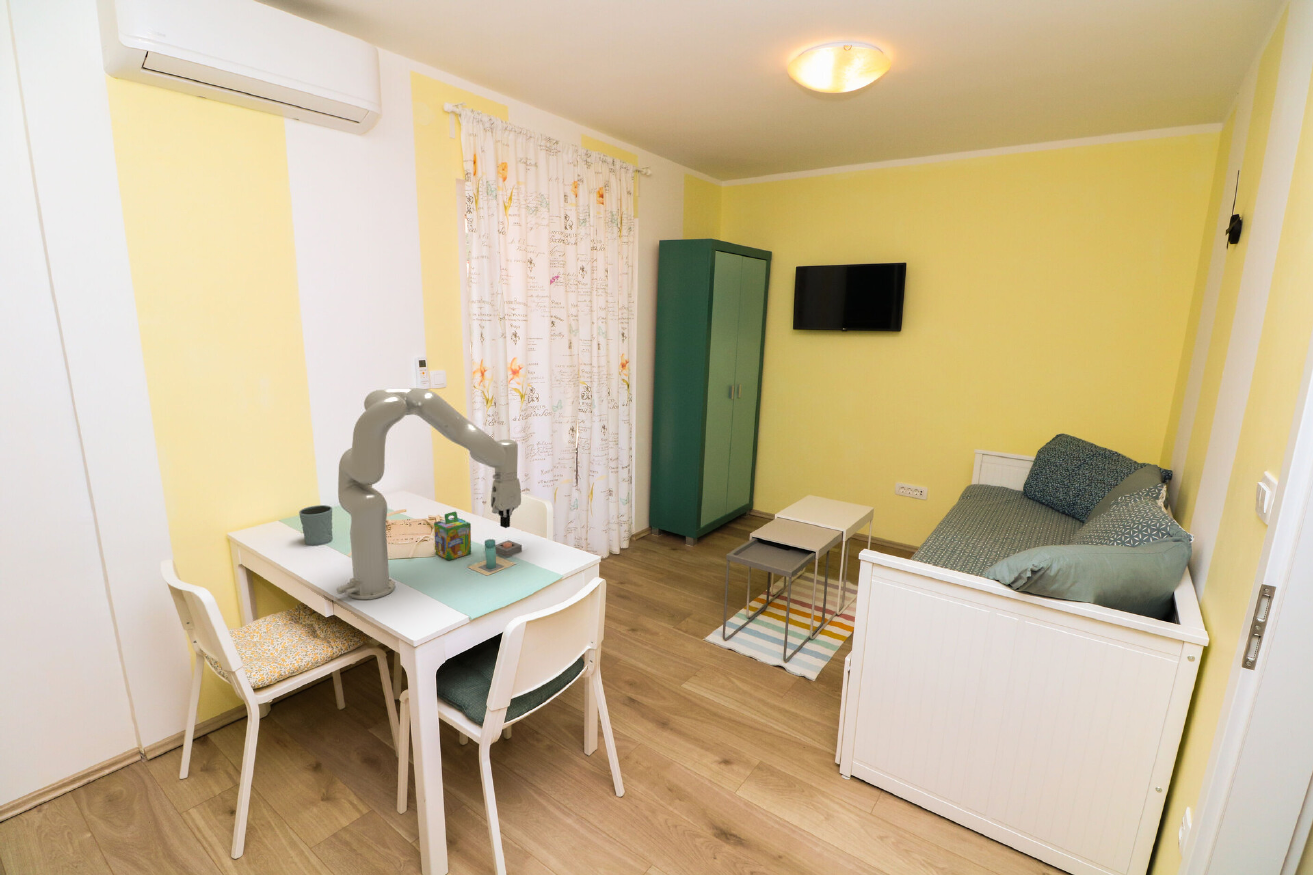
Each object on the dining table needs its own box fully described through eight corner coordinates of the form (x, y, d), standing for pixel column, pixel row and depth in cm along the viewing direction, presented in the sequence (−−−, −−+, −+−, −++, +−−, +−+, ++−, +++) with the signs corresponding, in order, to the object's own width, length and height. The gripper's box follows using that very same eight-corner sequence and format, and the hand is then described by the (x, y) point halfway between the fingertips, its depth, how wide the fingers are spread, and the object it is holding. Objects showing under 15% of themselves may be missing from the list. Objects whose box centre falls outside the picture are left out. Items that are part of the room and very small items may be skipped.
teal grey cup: (340, 537, 215) (338, 506, 212) (322, 547, 205) (319, 515, 202) (314, 535, 216) (311, 504, 213) (295, 545, 206) (292, 513, 203)
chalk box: (448, 561, 198) (446, 519, 195) (434, 553, 204) (432, 513, 201) (472, 553, 205) (471, 513, 202) (458, 546, 211) (456, 507, 208)
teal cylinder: (490, 569, 192) (488, 543, 190) (483, 566, 194) (482, 541, 192) (498, 566, 194) (497, 540, 193) (492, 563, 197) (490, 538, 195)
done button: (507, 553, 205) (506, 546, 205) (501, 550, 207) (501, 544, 206) (513, 550, 208) (513, 543, 207) (508, 548, 209) (507, 541, 209)
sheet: (487, 575, 188) (487, 575, 188) (467, 567, 194) (467, 566, 194) (515, 564, 198) (515, 563, 198) (496, 556, 203) (496, 555, 203)
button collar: (506, 557, 203) (506, 550, 202) (493, 552, 206) (492, 545, 206) (521, 551, 208) (521, 544, 208) (508, 546, 212) (508, 540, 212)
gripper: (495, 481, 193) (495, 534, 197) (529, 474, 205) (528, 524, 209) (481, 477, 198) (480, 529, 201) (515, 470, 210) (514, 519, 213)
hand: (505, 526), depth 205 cm, fingers closed
